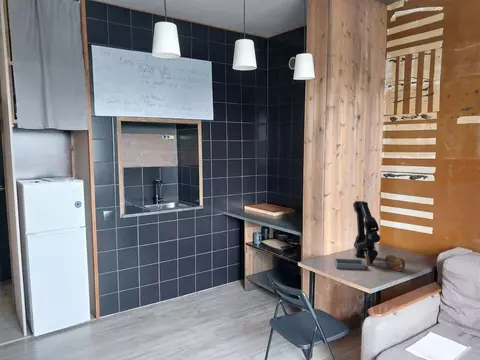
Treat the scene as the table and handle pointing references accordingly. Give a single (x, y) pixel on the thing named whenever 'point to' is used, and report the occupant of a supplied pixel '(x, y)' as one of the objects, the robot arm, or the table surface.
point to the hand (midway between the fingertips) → (369, 261)
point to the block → (368, 260)
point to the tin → (395, 263)
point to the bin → (349, 264)
